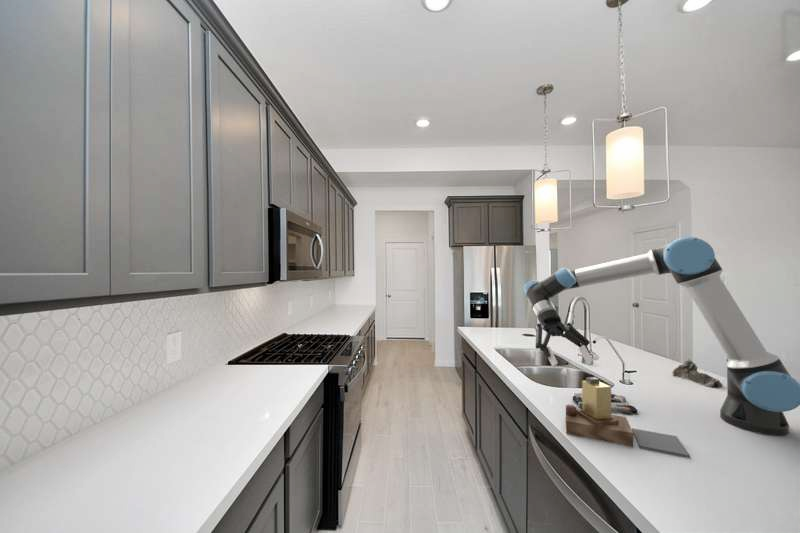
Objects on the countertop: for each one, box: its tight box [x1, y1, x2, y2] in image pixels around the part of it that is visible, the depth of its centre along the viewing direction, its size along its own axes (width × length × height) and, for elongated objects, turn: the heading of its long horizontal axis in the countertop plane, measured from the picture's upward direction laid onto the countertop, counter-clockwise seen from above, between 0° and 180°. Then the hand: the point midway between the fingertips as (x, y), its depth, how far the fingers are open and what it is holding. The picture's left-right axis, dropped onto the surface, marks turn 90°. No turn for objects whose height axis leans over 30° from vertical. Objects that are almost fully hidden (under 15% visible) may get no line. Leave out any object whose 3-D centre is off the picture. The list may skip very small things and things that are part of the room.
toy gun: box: [572, 392, 638, 415], centre depth 120 cm, size 3×20×15 cm
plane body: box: [565, 404, 634, 448], centre depth 100 cm, size 17×11×6 cm
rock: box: [671, 358, 723, 389], centre depth 146 cm, size 18×11×10 cm, turn 2°
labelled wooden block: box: [581, 376, 612, 421], centre depth 100 cm, size 5×6×12 cm
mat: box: [631, 427, 691, 459], centre depth 93 cm, size 11×11×1 cm
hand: (573, 364), depth 110 cm, fingers open, 13 cm apart
